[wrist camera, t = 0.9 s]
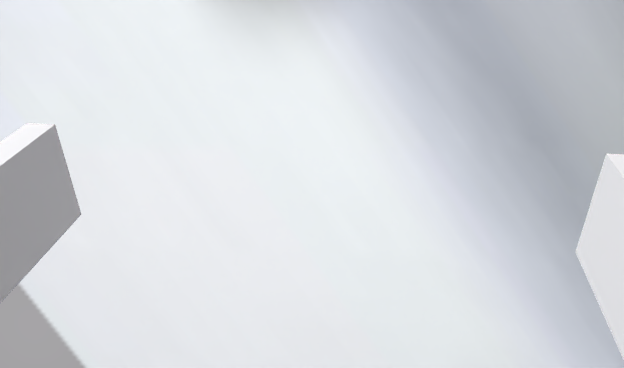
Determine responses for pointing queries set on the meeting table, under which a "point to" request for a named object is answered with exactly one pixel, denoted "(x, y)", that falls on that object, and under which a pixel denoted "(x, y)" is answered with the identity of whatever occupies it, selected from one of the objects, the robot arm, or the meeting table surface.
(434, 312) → the meeting table surface
